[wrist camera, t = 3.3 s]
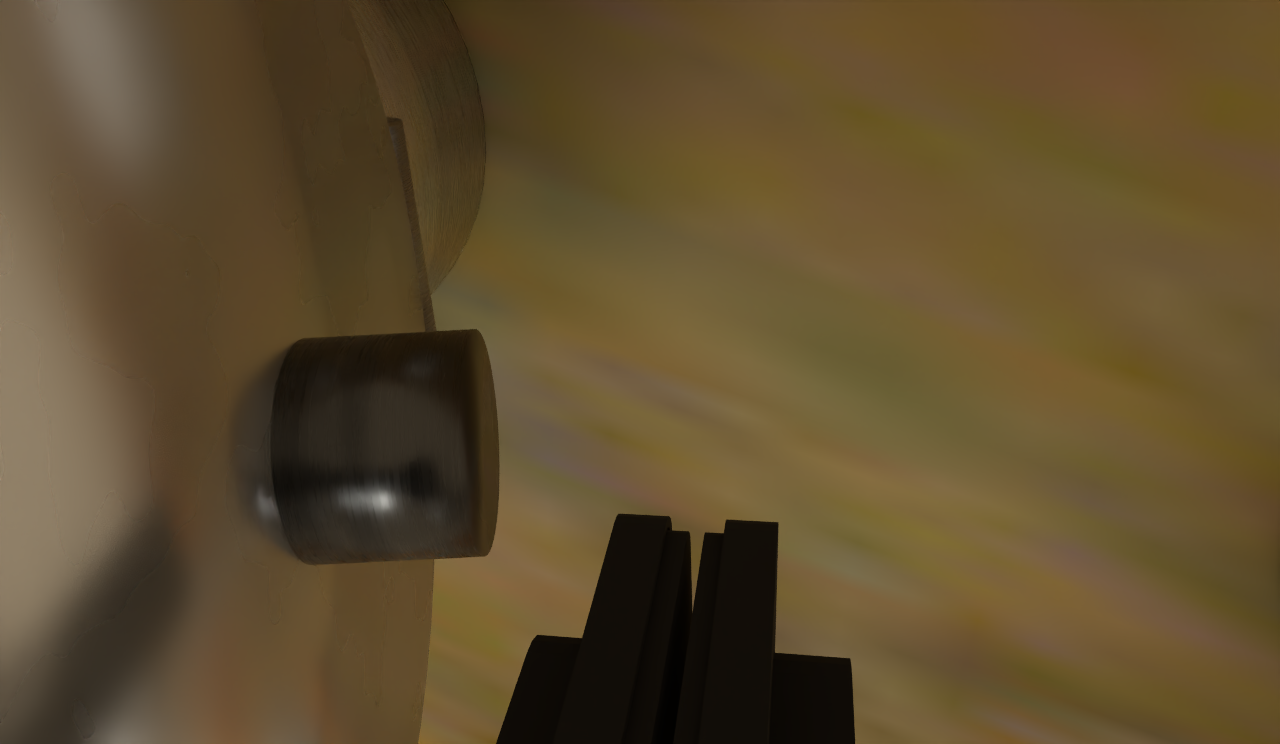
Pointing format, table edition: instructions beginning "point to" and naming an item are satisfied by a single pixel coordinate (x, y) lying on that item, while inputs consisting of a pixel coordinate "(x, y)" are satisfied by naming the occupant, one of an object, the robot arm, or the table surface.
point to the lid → (220, 383)
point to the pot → (430, 116)
